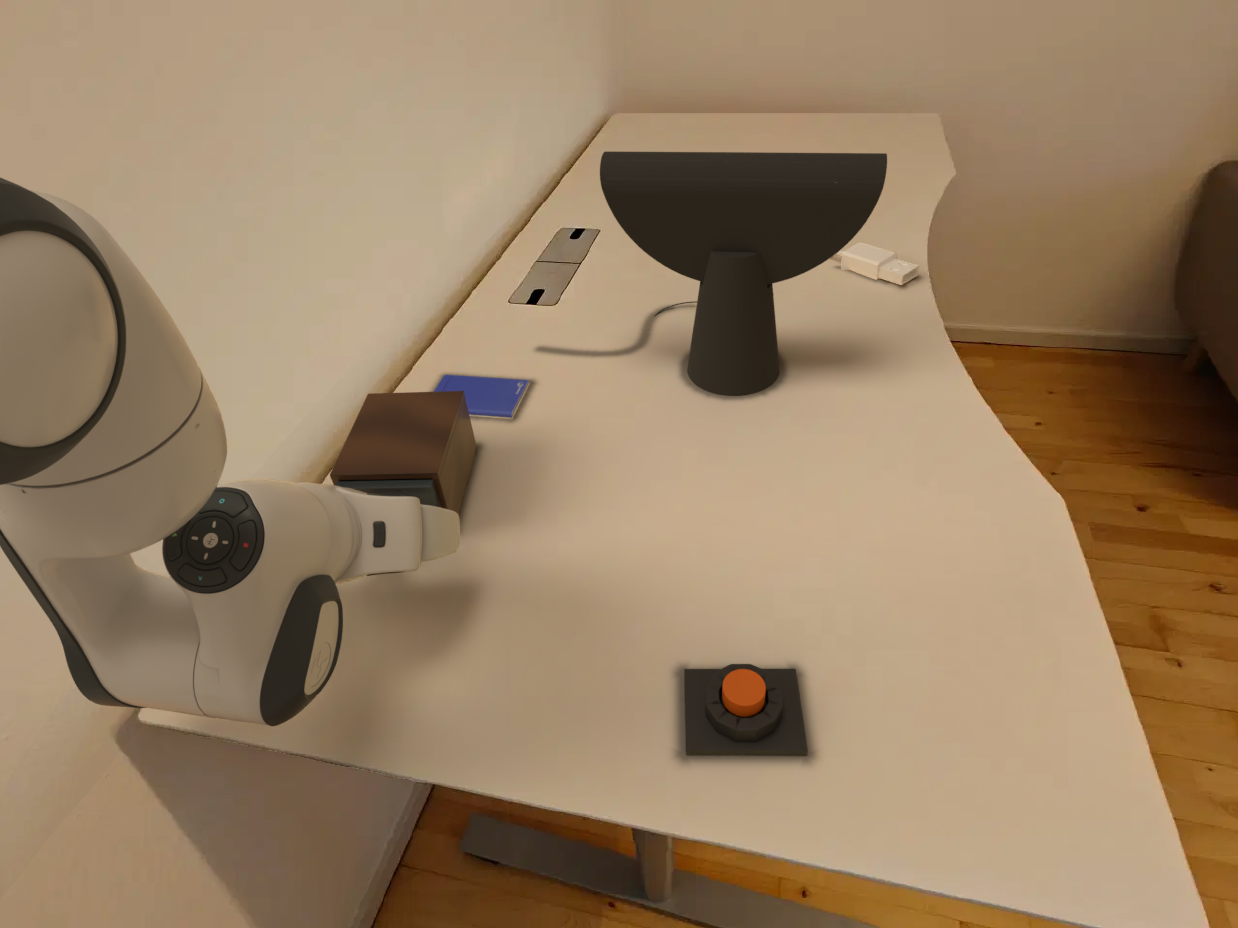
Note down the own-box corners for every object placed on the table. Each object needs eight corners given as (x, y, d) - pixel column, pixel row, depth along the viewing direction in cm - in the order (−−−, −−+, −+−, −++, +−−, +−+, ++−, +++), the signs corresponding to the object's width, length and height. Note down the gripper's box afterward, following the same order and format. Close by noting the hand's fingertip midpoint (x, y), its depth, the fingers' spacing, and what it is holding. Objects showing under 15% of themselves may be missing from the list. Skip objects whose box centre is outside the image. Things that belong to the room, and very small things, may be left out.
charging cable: (760, 228, 146) (760, 210, 144) (918, 279, 126) (921, 259, 124) (741, 237, 144) (741, 219, 142) (899, 291, 124) (901, 271, 122)
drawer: (438, 567, 86) (422, 514, 81) (343, 568, 87) (321, 516, 82) (469, 459, 99) (456, 408, 94) (386, 461, 100) (369, 411, 95)
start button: (766, 717, 68) (767, 705, 66) (723, 717, 68) (723, 705, 67) (762, 680, 70) (763, 668, 69) (721, 680, 71) (721, 668, 69)
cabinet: (455, 536, 91) (437, 472, 84) (354, 538, 91) (329, 475, 85) (478, 452, 102) (463, 390, 95) (388, 455, 102) (367, 393, 96)
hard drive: (529, 378, 110) (445, 372, 113) (511, 414, 104) (422, 407, 107) (531, 387, 111) (447, 382, 114) (513, 424, 105) (425, 417, 108)
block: (805, 761, 68) (809, 738, 65) (686, 760, 68) (685, 738, 66) (794, 679, 74) (797, 656, 71) (684, 679, 74) (683, 656, 72)
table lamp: (572, 452, 100) (541, 222, 81) (536, 337, 121) (505, 133, 102) (870, 391, 106) (909, 162, 86) (787, 291, 127) (803, 89, 107)
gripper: (201, 573, 70) (280, 564, 84) (432, 570, 68) (475, 561, 82) (202, 500, 70) (281, 503, 84) (432, 496, 69) (474, 499, 82)
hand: (378, 532), depth 83 cm, fingers closed, pressing on drawer
